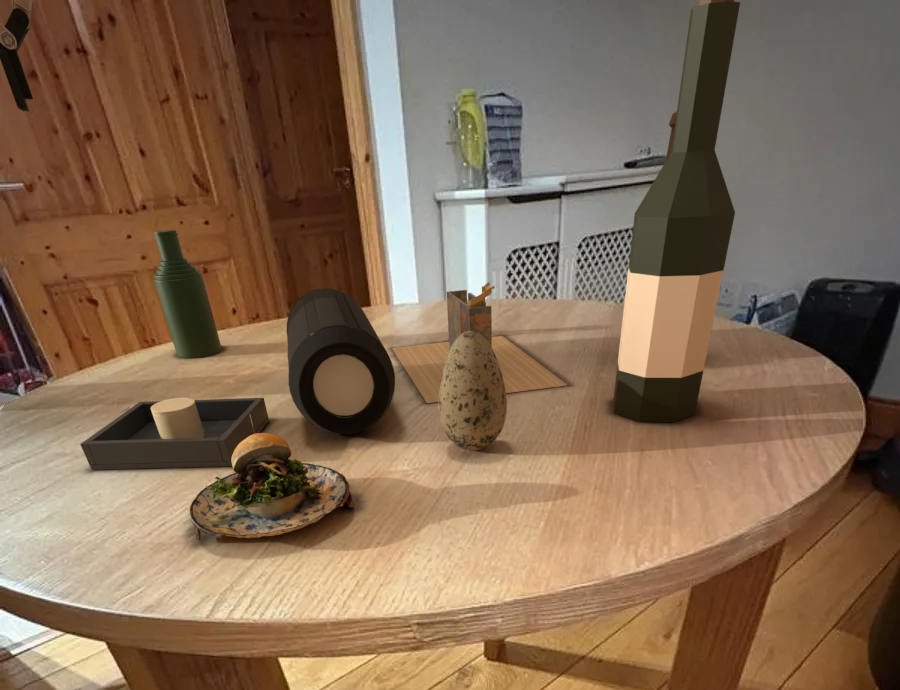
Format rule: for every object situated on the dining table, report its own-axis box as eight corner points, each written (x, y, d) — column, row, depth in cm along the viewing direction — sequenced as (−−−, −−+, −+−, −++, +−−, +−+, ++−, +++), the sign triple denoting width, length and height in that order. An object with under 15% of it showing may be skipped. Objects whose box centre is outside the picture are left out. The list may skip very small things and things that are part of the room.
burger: (171, 560, 41) (131, 458, 37) (222, 484, 51) (195, 396, 46) (342, 552, 41) (323, 449, 36) (362, 477, 50) (348, 388, 46)
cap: (153, 444, 58) (140, 410, 56) (181, 429, 60) (170, 396, 58) (186, 448, 56) (174, 413, 54) (213, 433, 59) (203, 399, 57)
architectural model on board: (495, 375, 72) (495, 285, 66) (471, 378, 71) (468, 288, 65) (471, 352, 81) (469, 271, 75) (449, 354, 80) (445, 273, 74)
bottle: (169, 358, 86) (130, 234, 77) (187, 347, 91) (152, 229, 82) (212, 357, 85) (177, 232, 76) (228, 345, 90) (197, 227, 81)
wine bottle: (682, 428, 56) (770, -32, 38) (597, 415, 59) (640, -8, 41) (705, 401, 61) (792, -12, 43) (626, 390, 65) (675, 7, 47)
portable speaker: (295, 375, 76) (278, 288, 70) (372, 366, 77) (361, 280, 71) (301, 450, 56) (277, 337, 50) (404, 437, 57) (393, 325, 51)
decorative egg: (519, 450, 53) (522, 331, 47) (464, 467, 51) (459, 344, 45) (482, 430, 58) (480, 319, 52) (429, 446, 55) (420, 331, 49)
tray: (91, 469, 55) (79, 444, 53) (147, 424, 64) (139, 401, 62) (232, 466, 54) (224, 439, 52) (269, 421, 63) (263, 397, 61)
